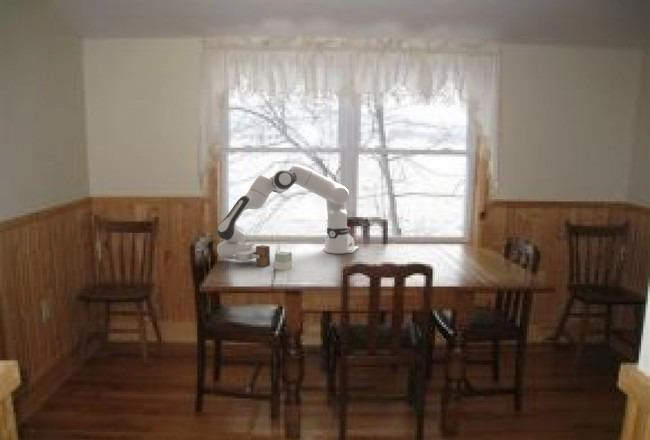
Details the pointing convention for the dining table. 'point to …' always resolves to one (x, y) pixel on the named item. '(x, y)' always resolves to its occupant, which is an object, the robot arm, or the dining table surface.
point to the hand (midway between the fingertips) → (264, 255)
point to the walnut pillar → (263, 256)
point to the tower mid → (283, 257)
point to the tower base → (283, 265)
